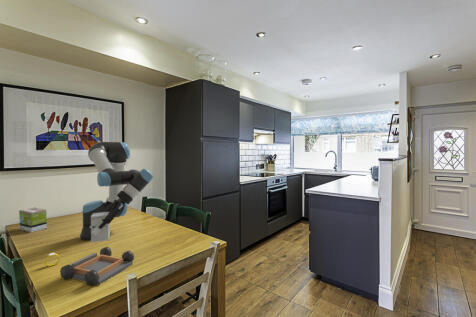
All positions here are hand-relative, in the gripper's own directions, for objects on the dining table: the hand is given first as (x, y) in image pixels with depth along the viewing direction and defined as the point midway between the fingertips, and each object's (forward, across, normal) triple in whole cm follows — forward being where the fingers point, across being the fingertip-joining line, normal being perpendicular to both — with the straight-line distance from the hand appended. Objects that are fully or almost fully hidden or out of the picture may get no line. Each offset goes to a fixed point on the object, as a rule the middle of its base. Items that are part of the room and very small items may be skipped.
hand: (92, 231), depth 111 cm
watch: (+25, +19, -2) cm, 32 cm away
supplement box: (+1, 0, -6) cm, 6 cm away
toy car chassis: (+12, -1, -15) cm, 20 cm away
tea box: (+34, +96, +8) cm, 102 cm away
